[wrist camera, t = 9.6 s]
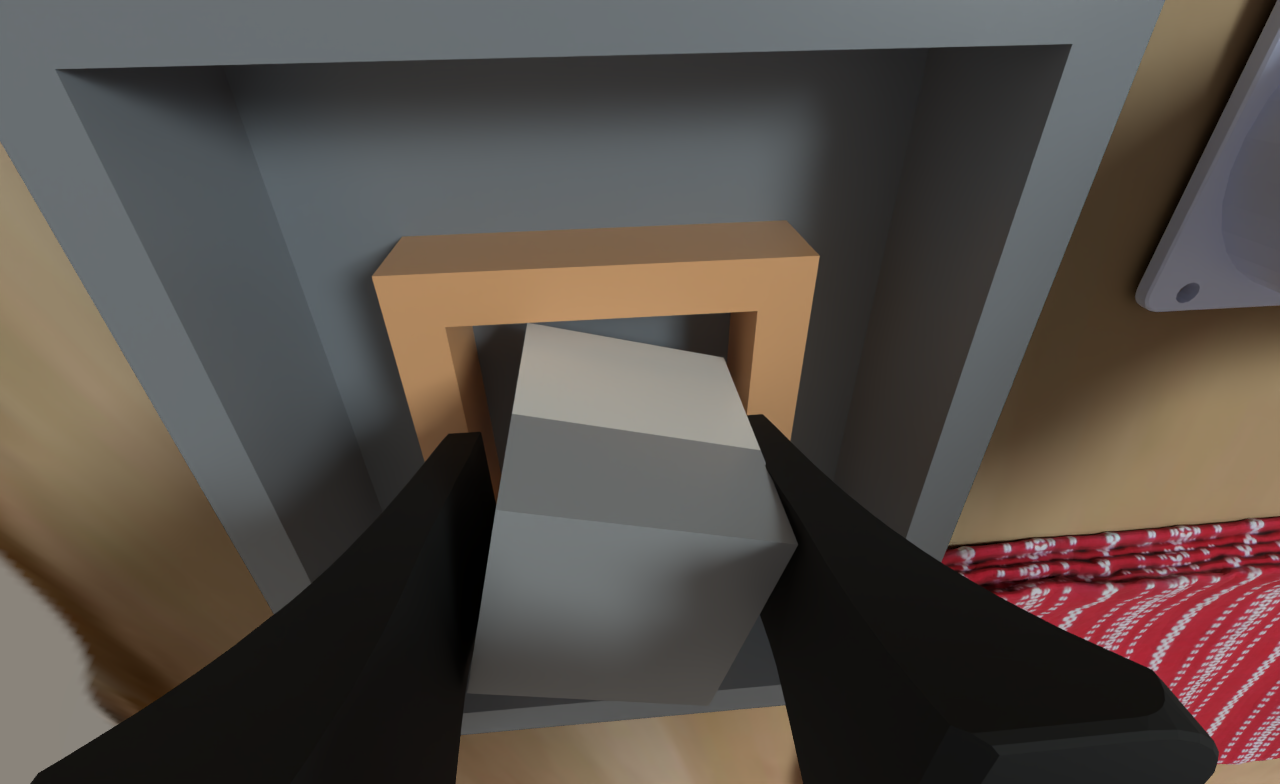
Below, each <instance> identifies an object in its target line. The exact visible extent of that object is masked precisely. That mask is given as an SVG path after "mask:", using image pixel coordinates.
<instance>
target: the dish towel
mask: <svg viewBox="0 0 1280 784" xmlns="http://www.w3.org/2000/svg"><path fill="white" fill-rule="evenodd" d="M941 563H943V564H944V565H946V566H948V567H949V568H951V569H953V570H954V571H956V572H958V573H960V574H961V575H963V576H965V577H966V578H968V579H970V580H971V581H973V582H975V583H976V584H978V585H980V586H981V587H983V588H985V589H987V590H988V591H990V592H992V593H994V594H996V595H997V596H999V597H1001V598H1003V599H1005V600H1007V601H1008V602H1010V603H1012V604H1014V605H1016V606H1018V607H1020V608H1022V609H1024V610H1026V611H1028V612H1030V613H1031V614H1033V615H1035V616H1037V617H1039V618H1041V619H1043V620H1045V621H1047V622H1049V623H1051V624H1053V625H1055V626H1057V627H1059V628H1061V629H1063V630H1065V631H1067V632H1069V633H1072V634H1074V635H1076V636H1078V637H1081V638H1083V639H1085V640H1087V641H1089V642H1092V643H1094V644H1096V645H1098V646H1101V647H1103V648H1105V649H1107V650H1110V651H1112V652H1114V653H1116V654H1118V655H1121V656H1123V657H1125V658H1127V659H1130V660H1132V661H1134V662H1136V663H1139V664H1141V665H1143V666H1145V667H1147V668H1150V669H1152V670H1153V671H1154V672H1155V673H1156V674H1157V676H1158V677H1159V678H1160V679H1161V680H1162V681H1163V682H1164V683H1165V684H1166V685H1167V687H1168V688H1169V689H1170V690H1171V691H1172V692H1173V694H1174V695H1175V696H1176V697H1177V698H1178V699H1179V701H1180V702H1181V703H1182V704H1183V705H1184V706H1185V708H1186V709H1187V710H1188V711H1189V712H1190V713H1191V715H1192V716H1193V717H1194V718H1195V719H1196V720H1197V722H1198V723H1199V724H1200V725H1201V726H1202V727H1203V729H1204V730H1205V731H1206V732H1207V733H1208V734H1209V736H1210V737H1211V738H1212V739H1213V740H1214V742H1215V744H1216V746H1217V748H1218V751H1219V756H1218V762H1217V764H1241V763H1246V762H1251V761H1264V760H1269V759H1277V758H1280V517H1273V518H1261V519H1258V518H1247V519H1244V520H1242V521H1237V522H1230V523H1218V524H1206V525H1177V526H1174V527H1164V528H1160V529H1144V530H1133V531H1122V532H1103V533H1100V534H1097V535H1087V536H1064V537H1054V538H1032V539H1029V540H1022V541H1017V542H1007V543H999V544H992V545H982V546H963V547H959V548H956V549H946V552H945V554H944V557H943V559H942V562H941Z"/></svg>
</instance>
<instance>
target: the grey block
mask: <svg viewBox="0 0 1280 784" xmlns="http://www.w3.org/2000/svg"><path fill="white" fill-rule="evenodd" d="M765 465H766V462H765V460H764V457H763V455H762V452H761V450H760V447H759V445H758V442H757V440H756V437H755V435H754V432H753V430H752V427H751V425H750V422H749V420H748V417H747V415H746V412H745V410H744V407H743V405H742V402H741V400H740V397H739V395H738V392H737V390H736V387H735V385H734V382H733V380H732V377H731V375H730V372H729V370H728V367H727V365H726V362H725V360H724V358H723V357H717V356H712V355H706V354H700V353H695V352H689V351H684V350H678V349H672V348H667V347H661V346H656V345H650V344H644V343H639V342H633V341H628V340H622V339H616V338H611V337H605V336H600V335H594V334H588V333H583V332H577V331H572V330H566V329H560V328H555V327H549V326H544V325H538V324H532V323H527V328H526V334H525V340H524V346H523V352H522V358H521V364H520V369H519V375H518V381H517V387H516V393H515V399H514V405H513V411H512V416H511V422H510V428H509V434H508V440H507V446H506V452H505V458H504V464H503V469H502V475H501V481H500V487H499V493H498V499H497V505H496V511H495V517H494V524H493V530H492V536H491V543H490V549H489V556H488V562H487V568H486V575H485V581H484V588H483V594H482V601H481V607H480V613H479V620H478V626H477V633H476V639H475V645H474V652H473V658H472V665H471V671H470V678H469V684H468V690H467V693H471V694H490V695H509V696H528V697H547V698H566V699H585V700H604V701H623V702H642V703H661V704H680V705H699V706H709V705H710V703H711V701H712V699H713V698H714V696H715V694H716V692H717V690H718V689H719V687H720V685H721V683H722V681H723V680H724V678H725V676H726V674H727V672H728V671H729V669H730V667H731V665H732V663H733V662H734V660H735V658H736V656H737V654H738V653H739V651H740V649H741V647H742V645H743V643H744V642H745V640H746V638H747V636H748V634H749V633H750V631H751V629H752V627H753V625H754V624H755V622H756V620H757V618H758V616H759V615H760V613H761V611H762V609H763V607H764V606H765V604H766V602H767V600H768V598H769V597H770V595H771V593H772V591H773V589H774V587H775V586H776V584H777V582H778V580H779V578H780V577H781V575H782V573H783V571H784V569H785V568H786V566H787V564H788V562H789V560H790V559H791V557H792V555H793V553H794V551H795V550H796V548H797V546H798V543H797V540H796V538H795V535H794V533H793V530H792V528H791V525H790V523H789V520H788V518H787V515H786V513H785V510H784V508H783V505H782V503H781V500H780V498H779V495H778V493H777V490H776V488H775V485H774V483H773V480H772V478H771V476H770V474H769V472H768V471H767V469H766V467H765Z"/></svg>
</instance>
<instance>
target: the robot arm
mask: <svg viewBox="0 0 1280 784" xmlns="http://www.w3.org/2000/svg"><path fill="white" fill-rule="evenodd" d="M1181 288H1182V289H1181ZM1180 290H1181V291H1180ZM1135 299H1136V302H1137V303H1138V304H1139V305H1140V306H1142V307H1144V308H1145V309H1147V310H1149V311H1153V312H1167V311H1186V310H1204V309H1223V308H1241V307H1260V306H1279V305H1280V0H1277V2H1276V4H1275V6H1274V8H1273V10H1272V12H1271V14H1270V16H1269V18H1268V20H1267V22H1266V24H1265V26H1264V29H1263V31H1262V33H1261V35H1260V37H1259V39H1258V41H1257V43H1256V45H1255V47H1254V49H1253V51H1252V53H1251V55H1250V57H1249V59H1248V61H1247V64H1246V66H1245V68H1244V70H1243V72H1242V74H1241V76H1240V78H1239V80H1238V82H1237V84H1236V86H1235V88H1234V90H1233V92H1232V94H1231V96H1230V99H1229V101H1228V103H1227V105H1226V107H1225V109H1224V111H1223V113H1222V115H1221V117H1220V119H1219V121H1218V123H1217V125H1216V127H1215V129H1214V131H1213V133H1212V136H1211V138H1210V140H1209V142H1208V144H1207V146H1206V148H1205V150H1204V152H1203V154H1202V156H1201V158H1200V160H1199V162H1198V164H1197V166H1196V168H1195V171H1194V173H1193V175H1192V177H1191V179H1190V181H1189V183H1188V185H1187V187H1186V189H1185V191H1184V193H1183V195H1182V197H1181V199H1180V201H1179V203H1178V206H1177V208H1176V210H1175V212H1174V214H1173V216H1172V218H1171V220H1170V222H1169V224H1168V226H1167V228H1166V230H1165V232H1164V234H1163V236H1162V238H1161V241H1160V243H1159V245H1158V247H1157V249H1156V251H1155V253H1154V255H1153V257H1152V259H1151V261H1150V263H1149V265H1148V267H1147V269H1146V271H1145V273H1144V275H1143V278H1142V280H1141V282H1140V284H1139V286H1138V288H1137V291H1136V294H1135ZM747 417H748V420H749V422H750V425H751V427H752V430H753V432H754V435H755V437H756V440H757V442H758V445H759V447H760V450H761V452H762V455H763V457H764V460H765V462H766V465H765V467H766V469H767V471H768V472H769V474H770V476H771V478H772V480H773V483H774V485H775V488H776V490H777V493H778V495H779V498H780V500H781V503H782V505H783V508H784V510H785V513H786V515H787V518H788V520H789V523H790V525H791V528H792V530H793V533H794V535H795V538H796V540H797V543H798V546H797V548H796V550H795V551H794V553H793V555H792V557H791V559H790V560H789V562H788V564H787V566H786V568H785V569H784V571H783V573H782V575H781V577H780V578H779V580H778V582H777V584H776V586H775V587H774V589H773V591H772V593H771V595H770V597H769V598H768V600H767V602H766V604H765V606H764V607H763V609H762V611H761V613H760V617H761V620H762V623H763V626H764V628H765V631H766V634H767V637H768V640H769V643H770V646H771V650H772V653H773V656H774V660H775V663H776V667H777V671H778V675H779V679H780V683H781V688H782V692H783V696H784V700H785V704H786V709H787V713H788V717H789V721H790V726H791V730H792V735H793V739H794V744H795V749H796V753H797V758H798V762H799V767H800V771H801V776H802V780H803V784H1205V782H1206V781H1207V780H1208V779H1209V778H1210V777H1211V776H1212V774H1213V773H1214V772H1215V768H1216V765H1217V762H1218V756H1219V751H1218V748H1217V746H1216V744H1215V742H1214V740H1213V739H1212V738H1211V737H1210V736H1209V734H1208V733H1207V732H1206V731H1205V730H1204V729H1203V727H1202V726H1201V725H1200V724H1199V723H1198V722H1197V720H1196V719H1195V718H1194V717H1193V716H1192V715H1191V713H1190V712H1189V711H1188V710H1187V709H1186V708H1185V706H1184V705H1183V704H1182V703H1181V702H1180V701H1179V699H1178V698H1177V697H1176V696H1175V695H1174V694H1173V692H1172V691H1171V690H1170V689H1169V688H1168V687H1167V685H1166V684H1165V683H1164V682H1163V681H1162V680H1161V679H1160V678H1159V677H1158V676H1157V674H1156V673H1155V672H1154V671H1153V670H1152V669H1150V668H1147V667H1145V666H1143V665H1141V664H1139V663H1136V662H1134V661H1132V660H1130V659H1127V658H1125V657H1123V656H1121V655H1118V654H1116V653H1114V652H1112V651H1110V650H1107V649H1105V648H1103V647H1101V646H1098V645H1096V644H1094V643H1092V642H1089V641H1087V640H1085V639H1083V638H1081V637H1078V636H1076V635H1074V634H1072V633H1069V632H1067V631H1065V630H1063V629H1061V628H1059V627H1057V626H1055V625H1053V624H1051V623H1049V622H1047V621H1045V620H1043V619H1041V618H1039V617H1037V616H1035V615H1033V614H1031V613H1030V612H1028V611H1026V610H1024V609H1022V608H1020V607H1018V606H1016V605H1014V604H1012V603H1010V602H1008V601H1007V600H1005V599H1003V598H1001V597H999V596H997V595H996V594H994V593H992V592H990V591H988V590H987V589H985V588H983V587H981V586H980V585H978V584H976V583H975V582H973V581H971V580H970V579H968V578H966V577H965V576H963V575H961V574H960V573H958V572H956V571H954V570H953V569H951V568H949V567H948V566H946V565H944V564H943V563H941V562H940V561H938V560H937V559H935V558H934V557H932V556H930V555H929V554H927V553H926V552H924V551H923V550H921V549H920V548H918V547H917V546H916V545H914V544H913V543H911V542H910V541H908V540H907V539H906V538H904V537H903V536H901V535H900V534H898V533H897V532H895V531H894V530H893V529H891V528H890V527H888V526H887V525H886V524H884V523H883V522H882V521H880V520H879V519H878V518H876V517H875V516H874V515H873V514H871V513H870V512H869V511H868V510H866V509H865V508H864V507H863V506H861V505H860V504H859V503H858V502H857V501H855V500H854V499H853V498H852V497H850V496H849V495H848V494H847V493H846V492H844V491H843V490H842V489H841V488H840V487H839V486H837V485H836V484H835V483H834V482H833V481H832V480H831V479H830V478H829V477H828V476H826V475H825V474H824V473H823V472H822V471H821V470H820V469H819V468H818V467H817V466H816V465H814V464H813V463H812V462H811V461H810V460H809V459H808V458H807V457H806V456H805V455H804V454H803V453H802V452H801V451H800V450H799V449H798V448H797V447H796V446H795V445H794V444H793V443H792V442H791V441H790V440H789V439H788V438H787V437H786V436H785V435H784V434H783V433H782V432H781V431H780V430H779V429H778V428H777V427H776V426H775V425H774V424H773V423H772V422H771V421H769V420H768V419H767V418H766V417H765V416H764V415H763V414H757V415H747ZM495 511H496V501H495V496H494V491H493V487H492V482H491V477H490V472H489V467H488V463H487V458H486V453H485V448H484V443H483V439H482V434H481V432H467V433H451V434H448V435H447V436H446V437H445V438H444V439H443V440H442V441H441V443H440V444H439V445H438V446H437V447H436V449H435V450H434V451H433V452H432V454H431V455H430V456H429V457H428V459H427V460H426V461H425V462H424V464H423V465H422V466H421V467H420V469H419V470H418V471H417V472H416V473H415V475H414V476H413V477H412V478H411V479H410V481H409V482H408V483H407V484H406V485H405V487H404V488H403V489H402V490H401V491H400V492H399V494H398V495H397V496H396V497H395V498H394V499H393V501H392V502H391V503H390V504H389V505H388V506H387V507H386V509H385V510H384V511H383V512H382V513H381V514H380V515H379V516H378V518H377V519H376V520H375V521H374V522H373V523H372V524H371V525H370V526H369V527H368V528H367V529H366V530H365V531H364V532H363V533H362V534H361V535H360V537H359V538H358V539H357V540H356V541H355V542H354V543H353V544H352V545H351V546H350V547H349V548H348V549H347V550H346V551H345V552H344V553H343V554H342V555H341V556H340V557H339V558H338V559H337V560H336V561H335V562H334V563H333V564H332V565H331V566H330V567H329V568H328V569H327V570H325V571H324V572H323V573H322V574H321V575H320V576H319V577H318V578H317V579H315V580H314V581H313V582H312V583H311V584H310V585H309V586H308V587H306V588H305V589H304V590H303V591H302V592H301V593H300V594H299V595H297V596H296V597H295V598H294V599H293V600H291V601H290V602H289V603H288V604H287V605H285V606H284V607H283V608H282V609H280V610H279V611H278V612H277V613H275V614H274V615H273V616H271V617H270V618H269V619H268V620H266V621H265V622H264V623H263V624H261V625H260V626H259V627H257V628H256V629H255V630H254V631H252V632H251V633H250V634H249V635H247V636H246V637H245V638H244V639H242V640H241V641H240V642H238V643H237V644H236V645H235V646H233V647H232V648H231V649H229V650H228V651H226V652H225V653H224V654H222V655H221V656H220V657H218V658H217V659H215V660H214V661H213V662H211V663H210V664H208V665H207V666H206V667H204V668H203V669H201V670H200V671H199V672H197V673H196V674H194V675H193V676H191V677H190V678H188V679H187V680H186V681H184V682H183V683H181V684H180V685H178V686H177V687H175V688H174V689H172V690H171V691H169V692H168V693H166V694H165V695H164V696H162V697H161V698H159V699H158V700H156V701H154V702H153V703H151V704H150V705H148V706H147V707H145V708H144V709H142V710H141V711H139V712H138V713H136V714H134V715H133V716H131V717H130V718H128V719H126V720H125V721H123V722H122V723H120V724H118V725H117V726H115V727H113V728H112V729H110V730H109V731H107V732H105V733H104V734H102V735H100V736H99V737H97V738H96V739H94V740H92V741H91V742H89V743H88V744H86V745H84V746H83V747H81V748H79V749H78V750H76V751H74V752H73V753H71V754H70V755H68V756H66V757H65V758H63V759H62V760H60V761H58V762H56V763H55V764H53V765H51V766H50V767H48V768H46V769H45V770H43V771H41V772H40V773H38V774H37V776H36V777H35V778H34V780H33V781H32V782H31V784H455V783H456V773H457V763H458V754H459V744H460V736H461V727H462V718H463V710H464V701H465V693H466V687H467V682H468V676H469V670H470V665H471V661H472V656H473V651H474V645H475V639H476V633H477V626H478V620H479V613H480V607H481V601H482V594H483V588H484V581H485V575H486V568H487V562H488V556H489V549H490V543H491V536H492V530H493V524H494V517H495Z"/></svg>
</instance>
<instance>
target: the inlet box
mask: <svg viewBox="0 0 1280 784" xmlns="http://www.w3.org/2000/svg"><path fill="white" fill-rule="evenodd" d="M1164 2H1165V0H0V141H1V143H2V145H3V147H4V148H5V150H6V152H7V154H8V155H9V157H10V159H11V160H12V162H13V164H14V166H15V167H16V169H17V171H18V173H19V174H20V176H21V178H22V179H23V181H24V183H25V185H26V186H27V188H28V190H29V192H30V193H31V195H32V197H33V198H34V200H35V202H36V204H37V205H38V207H39V209H40V211H41V212H42V214H43V216H44V217H45V219H46V221H47V223H48V224H49V226H50V228H51V230H52V231H53V233H54V235H55V236H56V238H57V240H58V242H59V243H60V245H61V247H62V249H63V250H64V252H65V254H66V256H67V257H68V259H69V261H70V262H71V264H72V266H73V268H74V269H75V271H76V273H77V275H78V276H79V278H80V280H81V281H82V283H83V285H84V287H85V288H86V290H87V292H88V294H89V295H90V297H91V299H92V300H93V302H94V304H95V306H96V307H97V309H98V311H99V313H100V314H101V316H102V318H103V319H104V321H105V323H106V325H107V326H108V328H109V330H110V332H111V333H112V335H113V337H114V338H115V340H116V342H117V344H118V345H119V347H120V349H121V351H122V352H123V354H124V356H125V357H126V359H127V361H128V363H129V364H130V366H131V368H132V370H133V371H134V373H135V375H136V377H137V378H138V380H139V382H140V383H141V385H142V387H143V389H144V390H145V392H146V394H147V396H148V397H149V399H150V401H151V402H152V404H153V406H154V408H155V409H156V411H157V413H158V415H159V416H160V418H161V420H162V421H163V423H164V425H165V427H166V428H167V430H168V432H169V434H170V435H171V437H172V439H173V440H174V442H175V444H176V446H177V447H178V449H179V451H180V453H181V454H182V456H183V458H184V459H185V461H186V463H187V465H188V466H189V468H190V470H191V472H192V473H193V475H194V477H195V478H196V480H197V482H198V484H199V485H200V487H201V489H202V491H203V492H204V494H205V496H206V497H207V499H208V501H209V503H210V504H211V506H212V508H213V510H214V511H215V513H216V515H217V517H218V518H219V520H220V522H221V523H222V525H223V527H224V529H225V530H226V532H227V534H228V536H229V537H230V539H231V541H232V542H233V544H234V546H235V548H236V549H237V551H238V553H239V555H240V556H241V558H242V560H243V561H244V563H245V565H246V567H247V568H248V570H249V572H250V574H251V575H252V577H253V579H254V580H255V582H256V584H257V586H258V587H259V589H260V591H261V593H262V594H263V596H264V598H265V599H266V601H267V603H268V605H269V606H270V608H271V610H272V612H273V613H274V614H275V613H277V612H278V611H279V610H280V609H282V608H283V607H284V606H285V605H287V604H288V603H289V602H290V601H291V600H293V599H294V598H295V597H296V596H297V595H299V594H300V593H301V592H302V591H303V590H304V589H305V588H306V587H308V586H309V585H310V584H311V583H312V582H313V581H314V580H315V579H317V578H318V577H319V576H320V575H321V574H322V573H323V572H324V571H325V570H327V569H328V568H329V567H330V566H331V565H332V564H333V563H334V562H335V561H336V560H337V559H338V558H339V557H340V556H341V555H342V554H343V553H344V552H345V551H346V550H347V549H348V548H349V547H350V546H351V545H352V544H353V543H354V542H355V541H356V540H357V539H358V538H359V537H360V535H361V534H362V533H363V532H364V531H365V530H366V529H367V528H368V527H369V526H370V525H371V524H372V523H373V522H374V521H375V520H376V519H377V518H378V516H379V515H380V514H381V513H382V512H383V511H384V510H385V509H386V507H387V506H388V505H389V504H390V503H391V502H392V501H393V499H394V498H395V497H396V496H397V495H398V494H399V492H400V491H401V490H402V489H403V488H404V487H405V485H406V484H407V483H408V482H409V481H410V479H411V478H412V477H413V476H414V475H415V473H416V472H417V471H418V470H419V469H420V467H421V466H422V465H423V464H424V462H425V461H426V460H427V459H428V457H429V456H430V455H431V454H432V452H433V451H434V450H435V449H436V447H437V446H438V445H439V444H440V443H441V441H442V440H443V439H444V438H445V437H446V436H447V435H448V434H451V433H467V432H481V434H482V439H483V443H484V448H485V453H486V458H487V463H488V467H489V472H490V477H491V482H492V487H493V491H494V496H495V501H496V505H497V499H498V493H499V487H500V481H501V475H502V469H503V464H504V458H505V452H506V446H507V440H508V434H509V428H510V422H511V416H512V411H513V405H514V399H515V393H516V387H517V381H518V375H519V369H520V364H521V358H522V352H523V346H524V340H525V334H526V328H527V323H532V324H538V325H544V326H549V327H555V328H560V329H566V330H572V331H577V332H583V333H588V334H594V335H600V336H605V337H611V338H616V339H622V340H628V341H633V342H639V343H644V344H650V345H656V346H661V347H667V348H672V349H678V350H684V351H689V352H695V353H700V354H706V355H712V356H717V357H723V358H724V360H725V362H726V365H727V367H728V370H729V372H730V375H731V377H732V380H733V382H734V385H735V387H736V390H737V392H738V395H739V397H740V400H741V402H742V405H743V407H744V410H745V412H746V415H757V414H763V415H764V416H765V417H766V418H767V419H768V420H769V421H771V422H772V423H773V424H774V425H775V426H776V427H777V428H778V429H779V430H780V431H781V432H782V433H783V434H784V435H785V436H786V437H787V438H788V439H789V440H790V441H791V442H792V443H793V444H794V445H795V446H796V447H797V448H798V449H799V450H800V451H801V452H802V453H803V454H804V455H805V456H806V457H807V458H808V459H809V460H810V461H811V462H812V463H813V464H814V465H816V466H817V467H818V468H819V469H820V470H821V471H822V472H823V473H824V474H825V475H826V476H828V477H829V478H830V479H831V480H832V481H833V482H834V483H835V484H836V485H837V486H839V487H840V488H841V489H842V490H843V491H844V492H846V493H847V494H848V495H849V496H850V497H852V498H853V499H854V500H855V501H857V502H858V503H859V504H860V505H861V506H863V507H864V508H865V509H866V510H868V511H869V512H870V513H871V514H873V515H874V516H875V517H876V518H878V519H879V520H880V521H882V522H883V523H884V524H886V525H887V526H888V527H890V528H891V529H893V530H894V531H895V532H897V533H898V534H900V535H901V536H903V537H904V538H906V539H907V540H908V541H910V542H911V543H913V544H914V545H916V546H917V547H918V548H920V549H921V550H923V551H924V552H926V553H927V554H929V555H930V556H932V557H934V558H935V559H937V560H938V561H940V562H942V559H943V557H944V554H945V552H946V549H947V547H948V544H949V542H950V539H951V537H952V534H953V532H954V529H955V527H956V524H957V522H958V519H959V517H960V514H961V512H962V509H963V507H964V504H965V502H966V499H967V497H968V494H969V492H970V489H971V487H972V484H973V482H974V479H975V477H976V474H977V472H978V469H979V467H980V464H981V461H982V459H983V456H984V454H985V451H986V449H987V446H988V444H989V441H990V439H991V436H992V434H993V431H994V429H995V426H996V424H997V421H998V419H999V416H1000V414H1001V411H1002V409H1003V406H1004V404H1005V401H1006V399H1007V396H1008V394H1009V391H1010V389H1011V386H1012V384H1013V381H1014V379H1015V376H1016V374H1017V371H1018V369H1019V366H1020V364H1021V361H1022V358H1023V356H1024V353H1025V351H1026V348H1027V346H1028V343H1029V341H1030V338H1031V336H1032V333H1033V331H1034V328H1035V326H1036V323H1037V321H1038V318H1039V316H1040V313H1041V311H1042V308H1043V306H1044V303H1045V301H1046V298H1047V296H1048V293H1049V291H1050V288H1051V286H1052V283H1053V281H1054V278H1055V276H1056V273H1057V271H1058V268H1059V266H1060V263H1061V261H1062V258H1063V255H1064V253H1065V250H1066V248H1067V245H1068V243H1069V240H1070V238H1071V235H1072V233H1073V230H1074V228H1075V225H1076V223H1077V220H1078V218H1079V215H1080V213H1081V210H1082V208H1083V205H1084V203H1085V200H1086V198H1087V195H1088V193H1089V190H1090V188H1091V185H1092V183H1093V180H1094V178H1095V175H1096V173H1097V170H1098V168H1099V165H1100V163H1101V160H1102V157H1103V155H1104V152H1105V150H1106V147H1107V145H1108V142H1109V140H1110V137H1111V135H1112V132H1113V130H1114V127H1115V125H1116V122H1117V120H1118V117H1119V115H1120V112H1121V110H1122V107H1123V105H1124V102H1125V100H1126V97H1127V95H1128V92H1129V90H1130V87H1131V85H1132V82H1133V80H1134V77H1135V75H1136V72H1137V70H1138V67H1139V65H1140V62H1141V60H1142V57H1143V54H1144V52H1145V49H1146V47H1147V44H1148V42H1149V39H1150V37H1151V34H1152V32H1153V29H1154V27H1155V24H1156V22H1157V19H1158V17H1159V14H1160V12H1161V9H1162V7H1163V4H1164ZM473 652H474V651H473ZM472 658H473V656H472ZM471 665H472V661H471ZM471 665H470V670H469V676H468V682H467V687H466V693H465V701H464V710H463V718H462V727H461V735H467V734H478V733H489V732H500V731H510V730H521V729H532V728H543V727H554V726H565V725H575V724H586V723H597V722H608V721H619V720H629V719H640V718H651V717H662V716H673V715H684V714H694V713H705V712H716V711H727V710H738V709H749V708H759V707H770V706H781V705H786V704H785V700H784V696H783V692H782V688H781V683H780V679H779V675H778V671H777V667H776V663H775V660H774V656H773V653H772V650H771V646H770V643H769V640H768V637H767V634H766V631H765V628H764V626H763V623H762V620H761V617H760V615H759V616H758V618H757V620H756V622H755V624H754V625H753V627H752V629H751V631H750V633H749V634H748V636H747V638H746V640H745V642H744V643H743V645H742V647H741V649H740V651H739V653H738V654H737V656H736V658H735V660H734V662H733V663H732V665H731V667H730V669H729V671H728V672H727V674H726V676H725V678H724V680H723V681H722V683H721V685H720V687H719V689H718V690H717V692H716V694H715V696H714V698H713V699H712V701H711V703H710V705H709V706H699V705H680V704H661V703H642V702H623V701H604V700H585V699H566V698H547V697H528V696H509V695H490V694H471V693H467V690H468V684H469V678H470V671H471Z"/></svg>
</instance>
